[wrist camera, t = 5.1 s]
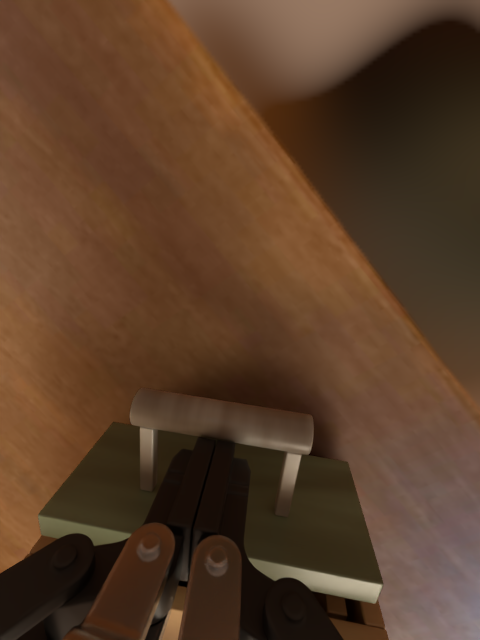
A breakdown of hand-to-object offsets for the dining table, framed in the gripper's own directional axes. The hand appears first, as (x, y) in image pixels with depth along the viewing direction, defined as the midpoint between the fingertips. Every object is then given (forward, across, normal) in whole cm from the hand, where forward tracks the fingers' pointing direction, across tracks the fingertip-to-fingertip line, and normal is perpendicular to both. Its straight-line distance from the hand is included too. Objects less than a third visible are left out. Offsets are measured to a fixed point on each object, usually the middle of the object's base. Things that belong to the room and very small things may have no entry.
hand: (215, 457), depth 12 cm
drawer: (+4, 0, +8) cm, 9 cm away
